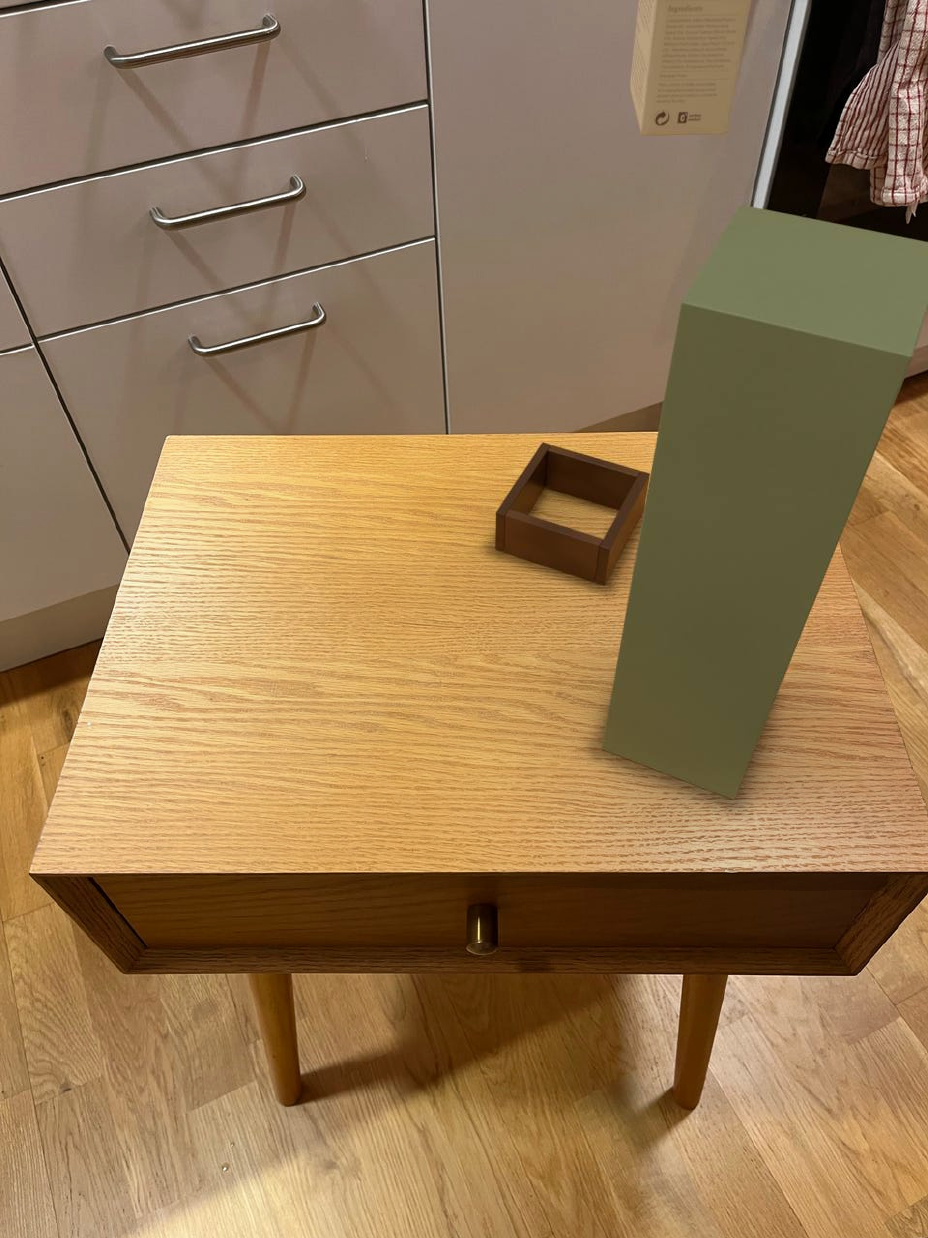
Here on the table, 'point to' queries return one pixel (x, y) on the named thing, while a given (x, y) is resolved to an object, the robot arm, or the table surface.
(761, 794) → the table surface
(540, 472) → the holder
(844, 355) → the pedestal
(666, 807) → the table surface
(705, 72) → the cosmetic box
